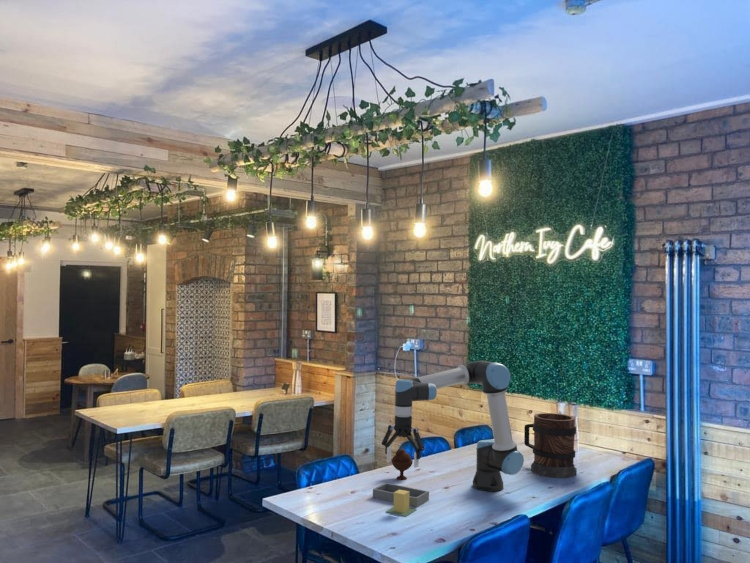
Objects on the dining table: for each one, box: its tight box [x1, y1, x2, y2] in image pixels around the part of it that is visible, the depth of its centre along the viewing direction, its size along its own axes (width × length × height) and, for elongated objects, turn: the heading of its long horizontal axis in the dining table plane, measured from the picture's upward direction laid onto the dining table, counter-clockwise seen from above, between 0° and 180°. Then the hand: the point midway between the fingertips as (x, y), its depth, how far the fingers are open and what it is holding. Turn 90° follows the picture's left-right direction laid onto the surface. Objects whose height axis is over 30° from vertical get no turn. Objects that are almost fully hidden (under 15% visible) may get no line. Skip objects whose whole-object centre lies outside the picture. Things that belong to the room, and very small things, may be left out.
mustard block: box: [393, 489, 410, 513], centre depth 269 cm, size 5×5×8 cm
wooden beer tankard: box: [523, 412, 578, 479], centre depth 341 cm, size 24×30×30 cm
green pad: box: [385, 506, 418, 518], centre depth 269 cm, size 10×10×1 cm
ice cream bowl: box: [391, 448, 414, 481], centre depth 319 cm, size 11×11×15 cm
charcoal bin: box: [372, 482, 430, 509], centre depth 285 cm, size 23×12×4 cm, turn 59°
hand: (402, 464), depth 270 cm, fingers open, 13 cm apart
